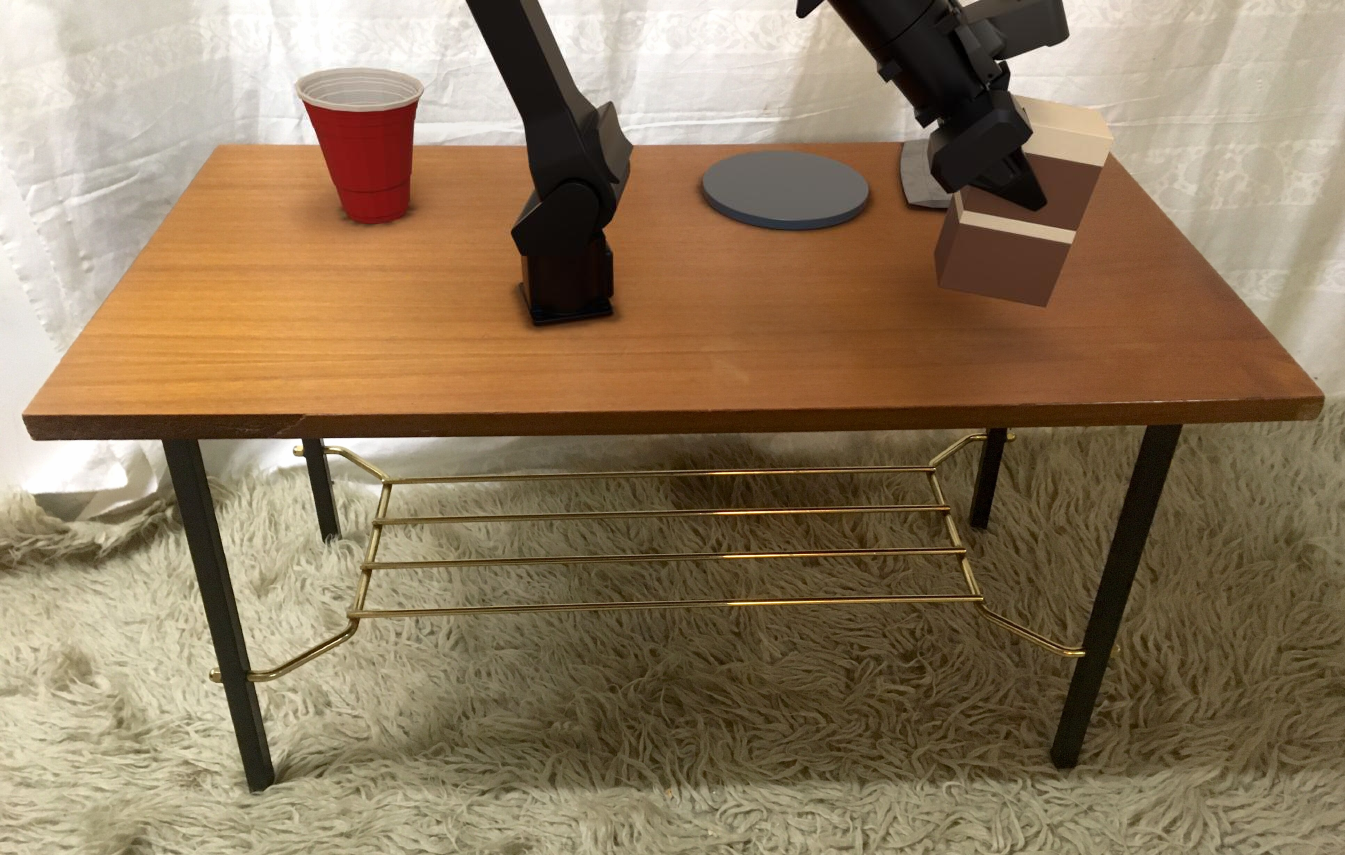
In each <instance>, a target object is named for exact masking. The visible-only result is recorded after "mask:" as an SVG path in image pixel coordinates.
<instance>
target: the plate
mask: <svg viewBox="0 0 1345 855" xmlns="http://www.w3.org/2000/svg"><path fill="white" fill-rule="evenodd" d="M869 190H870V188H869V184H868V182H867V180H866V179H865V178H864V176H863V175H862V174H861V173H860V172H859V171H857V170H856V169H854V168H852V167H851V166H850V165H848V164H845V163H844V162H841V161H838V160H836V159H833V158H830V157H827V156H823V155H819V154H815V153H810V152H804V151H797V150H796V151H795V150H782V149H781V150H780V149H779V150H777V149H775V150H757V151H756V150H755V151H748V152H744V153H743V152H742V153H738V154H734V155H731V156H728V157H725V158H723V159H720V160H719V161H717V162H715V163H714V164H712V165H711V166H710V167H708V169H707V170H706V171H705V173H704V174H703V177H702V195H703V197H704V200H705V201H706V202H707V203H708V204H709V205H710V206H711V207H712V208H713V209H714V210H715V211H717V212H718V213H720V214H722V215H724V216H726V217H728V218H731V219H732V220H736V221H738V222H740V223H743V224H747V225H750V226H751V225H752V226H757V227H760V228H761V227H762V228H768V229H777V230H789V231H790V230H791V231H798V230H799V231H800V230H801V231H802V230H813V229H816V230H817V229H822V228H828V227H833V226H836V225H840V224H843V223H845V222H847V221H850V220H852V219H854V218H855V217H857V216H859V214H861V212H863V211H864V209H865V207H866V206H867V204H868V199H869Z"/></svg>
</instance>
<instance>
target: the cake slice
mask: <svg viewBox="0 0 1345 855" xmlns="http://www.w3.org/2000/svg"><path fill="white" fill-rule="evenodd" d="M1011 94H1012V95H1013V96H1014V98H1015V99H1016V100H1017V102H1018V103H1019V104H1020V106H1021V107H1022V108H1023V107H1024V108H1025V111H1026V113H1027V116H1028V118H1029V121H1030V124H1031V127H1032V130H1033V132H1034V133H1033V134H1032V136H1031V137H1030V138H1029V140H1028V141H1027V142H1026V143H1025V144H1023V145H1022V149H1023V151H1024V153H1025V155H1026V157H1027V159H1028V161H1029V163H1030V165H1031V167H1032V169H1033V171H1034V173H1035V175H1036V177H1037V180H1038V182H1039V184H1040V186H1041V188H1042V190H1043V192H1044V194H1045V196H1046V198H1047V201H1048V203H1047V205H1045V206H1044V207H1043V208H1041V209H1040V210H1038V211H1036V212H1033V211H1031V210H1028V209H1026V208H1024V207H1021V206H1019V205H1017V204H1014V203H1012V202H1010V201H1007V200H1005V199H1003V198H1000V197H998V196H996V195H993V194H991V193H988V192H986V191H983V190H980V189H978V188H975V187H972V186H969V185H966V186H964V187H963V188H962V189H960V190H959V191H957V192H956V193H953V195H952V198H951V201H950V204H949V207H948V208H947V211H946V213H945V217H944V220H943V223H942V226H941V229H940V233H939V235H938V239H937V242H936V245H935V248H934V250H933V257H934V265H935V274H936V281H937V288H939V289H946V290H951V291H957V292H961V293H966V294H972V295H977V296H982V297H986V298H993V299H998V300H1002V301H1009V302H1013V303H1019V304H1025V305H1029V306H1035V307H1040V308H1046V307H1047V305H1048V304H1049V301H1050V298H1051V296H1052V294H1053V292H1054V289H1055V286H1056V283H1057V281H1058V279H1059V277H1060V274H1061V272H1062V268H1063V267H1064V264H1065V261H1066V259H1067V257H1068V254H1069V251H1070V249H1071V247H1072V244H1073V241H1074V240H1075V238H1076V235H1077V232H1078V230H1079V227H1080V224H1081V222H1082V219H1083V217H1084V216H1085V212H1086V210H1087V207H1088V204H1089V202H1090V200H1091V197H1092V195H1093V193H1094V191H1095V188H1096V185H1097V183H1098V180H1099V178H1100V175H1101V172H1102V170H1103V167H1104V165H1105V163H1106V161H1107V158H1108V156H1109V153H1110V151H1111V149H1112V146H1113V143H1114V141H1115V137H1114V135H1113V134H1112V132H1111V129H1110V128H1109V126H1108V124H1107V122H1106V121H1105V119H1104V117H1103V115H1102V112H1101V111H1100V110H1099V109H1095V108H1089V107H1084V106H1078V105H1074V104H1068V103H1062V102H1056V101H1052V100H1047V99H1046V100H1045V99H1040V98H1037V97H1036V98H1035V97H1030V96H1024V95H1019V94H1013V93H1011Z"/></svg>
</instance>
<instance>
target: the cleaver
mask: <svg viewBox="0 0 1345 855" xmlns="http://www.w3.org/2000/svg"><path fill="white" fill-rule="evenodd" d="M928 143H929V138H920V139H911V140H905V141H904V144H903V147H902V150H901V154H900V160H899V161H900V162H899V163H900V164H899V167H900V168H899V171H900V180H901V184H902V188H903V191H904V194H905V197H906V200H907V202H908V204H911V205H917V206H921V207H928V208H938V209H939V208H942V209H948V207H949V204H950V201H951V198H952V195H953V193H952V194H947V193H946V192H945V191H944V189H943V188H942V187H941V186H940V185H939V183H938V182H937V181H936V180H935V179H934V177H933V176H932V175H931V174H930V169H929V163H928V157H927V149H928Z"/></svg>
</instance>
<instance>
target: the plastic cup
mask: <svg viewBox="0 0 1345 855" xmlns="http://www.w3.org/2000/svg"><path fill="white" fill-rule="evenodd" d="M293 87H294V90H295V91H296V94H297V97H298V99H300V100H301V102H302V103H303V105H304V108H305V111H306V112H307V115H308V118H309V121H310V124H311V127H312V129H313V130H314V133H315V136H316V138H317V141H318V144H319V147H320V150H321V154H322V156H323V158H324V161H325V164H326V167H327V170H328V173H329V175H330V178H331V181H332V184H333V185H334V186H335V189H336V192H337V195H338V197H339V200H340V203H341V206H342V208H343V211H344V212H345V214H346V216H347V218H348V219H351V220H352V221H353V222H358V223H362V224H382V223H389V222H391V221H394V220H397V219H399V218H401V217H403V216H405V214H407V212H408V210H409V203H410V201H411V176H412V174H413V173H412V172H413V155H414V154H413V153H414V135H415V121H416V119H417V118H416V117H417V109H418V108H419V101H420V99H421V97H422V95H423V94H424V91H425V86H424V84H423V83H422V82H421V80H420V79H418V78H416V77H413V76H412V75H410V74H407V73H404V72H399V71H395V70H390V69H387V68H386V69H385V68H375V67H373V68H372V67H337V68H331V69H325V70H318V71H314V72H311V73H309V74H306V75H303V76H300V78H299V79H298V80H297V81H296V82H295V83H294V84H293Z"/></svg>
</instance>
